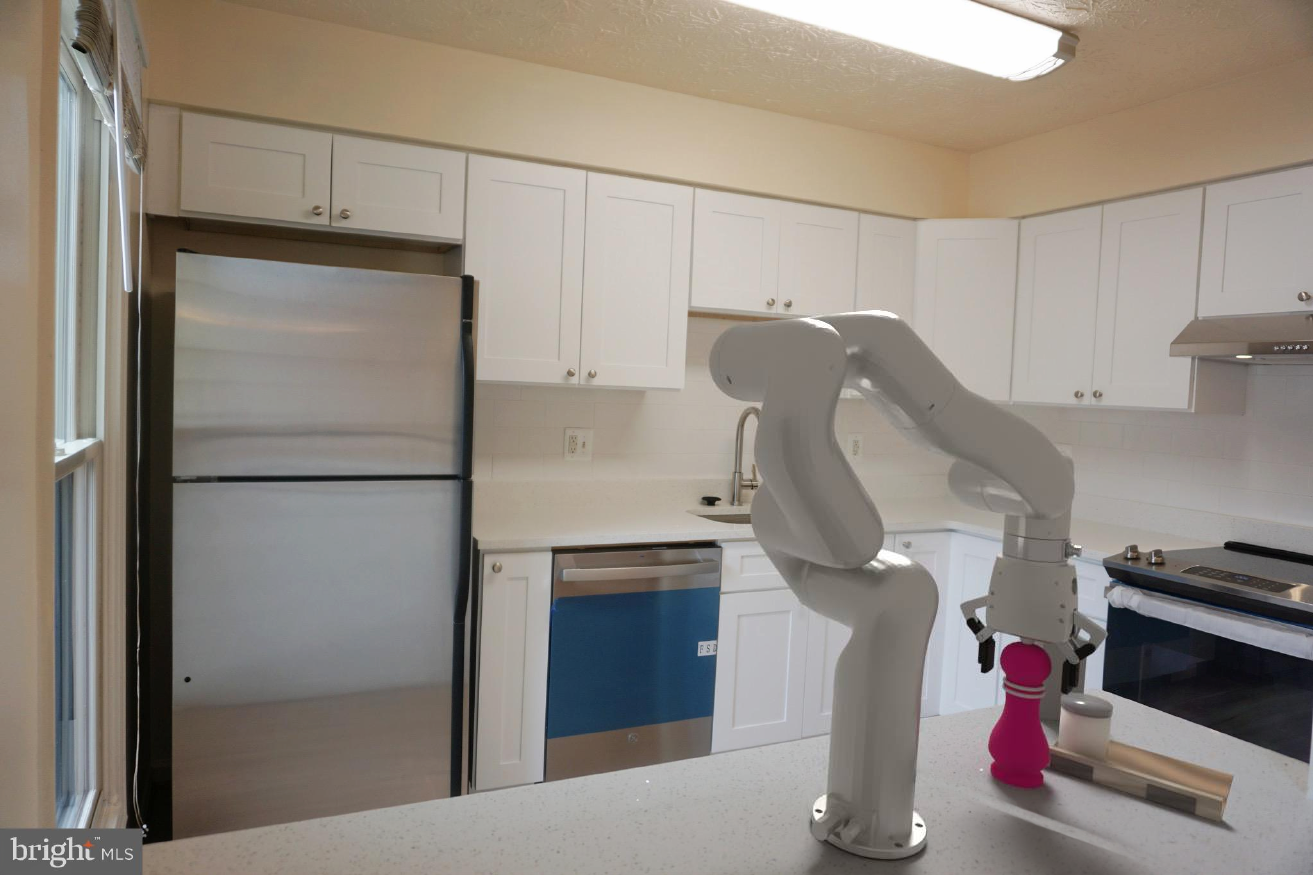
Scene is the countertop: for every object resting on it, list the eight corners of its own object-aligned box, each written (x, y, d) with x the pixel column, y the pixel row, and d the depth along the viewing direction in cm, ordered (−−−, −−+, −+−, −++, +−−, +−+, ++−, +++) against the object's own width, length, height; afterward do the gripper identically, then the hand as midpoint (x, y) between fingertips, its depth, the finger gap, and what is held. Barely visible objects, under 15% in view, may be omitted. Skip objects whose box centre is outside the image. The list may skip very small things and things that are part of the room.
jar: (1102, 774, 104) (1107, 714, 103) (1051, 758, 108) (1055, 700, 107) (1112, 759, 108) (1117, 702, 108) (1062, 744, 112) (1067, 689, 112)
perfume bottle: (1080, 727, 121) (1090, 611, 120) (1036, 724, 121) (1045, 609, 120) (1059, 709, 128) (1068, 599, 127) (1017, 707, 128) (1025, 597, 127)
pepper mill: (1054, 801, 98) (1067, 642, 97) (992, 792, 99) (1004, 636, 98) (1038, 774, 105) (1050, 626, 104) (980, 766, 106) (991, 620, 105)
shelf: (1219, 830, 93) (1222, 801, 93) (1036, 771, 106) (1039, 745, 106) (1232, 782, 105) (1235, 757, 105) (1067, 734, 118) (1069, 711, 118)
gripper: (1118, 556, 98) (1108, 691, 99) (975, 534, 109) (967, 656, 110) (1105, 565, 92) (1094, 709, 93) (955, 541, 103) (947, 670, 104)
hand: (1025, 680), depth 101 cm, fingers open, 9 cm apart
